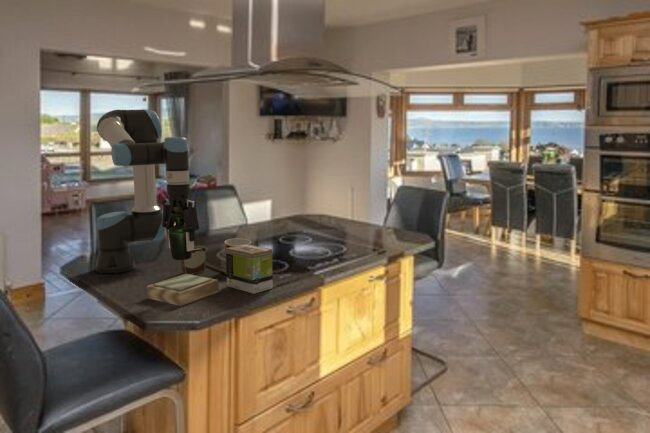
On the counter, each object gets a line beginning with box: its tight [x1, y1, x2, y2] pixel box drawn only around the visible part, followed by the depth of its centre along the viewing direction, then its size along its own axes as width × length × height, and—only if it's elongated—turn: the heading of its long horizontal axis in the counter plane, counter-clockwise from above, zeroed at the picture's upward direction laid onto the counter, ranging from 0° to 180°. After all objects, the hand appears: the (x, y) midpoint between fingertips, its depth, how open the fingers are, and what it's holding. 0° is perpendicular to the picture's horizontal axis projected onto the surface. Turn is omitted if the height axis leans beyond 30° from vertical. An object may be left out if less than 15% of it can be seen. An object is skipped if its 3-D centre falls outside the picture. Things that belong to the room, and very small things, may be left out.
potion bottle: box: [168, 207, 192, 261], centre depth 188 cm, size 8×8×18 cm
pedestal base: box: [146, 274, 220, 307], centre depth 192 cm, size 16×18×5 cm
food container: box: [180, 245, 208, 275], centre depth 221 cm, size 12×6×10 cm, turn 141°
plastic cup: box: [224, 237, 252, 249], centre depth 224 cm, size 11×11×12 cm
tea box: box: [225, 244, 274, 294], centre depth 200 cm, size 15×10×15 cm
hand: (181, 248), depth 189 cm, fingers closed on potion bottle, 8 cm apart
